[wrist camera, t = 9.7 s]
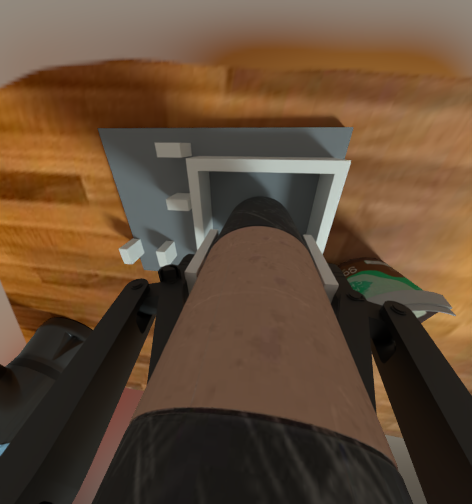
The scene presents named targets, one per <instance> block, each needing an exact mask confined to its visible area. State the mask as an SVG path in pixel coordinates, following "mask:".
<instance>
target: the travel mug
mask: <svg viewBox="0 0 472 504" xmlns="http://www.w3.org/2000/svg"><path fill="white" fill-rule="evenodd" d="M92 504H413V502H412V500H411V497H410V495H409V493H408V491H407V488H406V485H405V483H404V480H403V478H402V476H401V475H400V473H399V472H398V467H397V464H396V461H395V459H394V456H393V454H392V452H391V449H390V447H389V444H388V442H387V439H386V437H385V435H384V432H383V430H382V427H381V425H380V422H379V420H378V418H377V415H376V413H375V410H374V408H373V406H372V403H371V401H370V398H369V396H368V393H367V391H366V389H365V386H364V384H363V381H362V379H361V376H360V374H359V372H358V369H357V367H356V364H355V362H354V360H353V357H352V355H351V352H350V350H349V347H348V345H347V343H346V340H345V338H344V335H343V333H342V331H341V328H340V326H339V323H338V321H337V318H336V316H335V314H334V311H333V309H332V306H331V304H330V301H329V299H328V297H327V294H326V292H325V289H324V287H323V285H322V282H321V280H320V277H319V275H318V272H317V270H316V268H315V265H314V263H313V260H312V258H311V256H310V254H309V252H308V250H307V248H306V246H305V244H304V242H303V240H302V238H301V236H300V234H299V232H298V230H297V228H296V226H295V224H294V222H293V220H292V218H291V216H290V214H289V212H288V211H287V209H286V208H285V207H284V206H283V205H282V204H281V203H280V202H278V201H277V200H275V199H272V198H269V197H264V196H257V197H251V198H248V199H246V200H244V201H242V202H241V203H240V204H238V205H237V206H236V207H235V208H234V210H233V211H232V213H231V214H230V216H229V218H228V219H227V221H226V223H225V225H224V227H223V228H222V230H221V232H220V234H219V236H218V237H217V239H216V241H215V243H214V244H213V246H212V248H211V250H210V252H209V254H208V256H207V258H206V260H205V263H204V265H203V267H202V269H201V271H200V273H199V275H198V277H197V280H196V282H195V284H194V286H193V288H192V290H191V292H190V295H189V297H188V299H187V301H186V303H185V305H184V307H183V310H182V312H181V314H180V316H179V318H178V320H177V322H176V325H175V327H174V329H173V331H172V333H171V335H170V337H169V339H168V342H167V344H166V346H165V348H164V350H163V352H162V354H161V357H160V359H159V361H158V363H157V365H156V367H155V369H154V372H153V374H152V376H151V378H150V380H149V382H148V384H147V387H146V389H145V391H144V393H143V395H142V397H141V399H140V402H139V404H138V406H137V408H136V410H135V412H134V414H133V417H132V419H131V421H130V424H129V426H128V428H127V430H126V431H125V434H124V436H123V438H122V440H121V442H120V444H119V447H118V449H117V451H116V453H115V455H114V458H113V459H112V461H111V463H110V466H109V468H108V470H107V472H106V474H105V476H104V479H103V481H102V483H101V485H100V487H99V489H98V491H97V493H96V496H95V498H94V500H93V502H92Z"/></svg>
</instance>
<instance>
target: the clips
mask: <svg viewBox="0 0 472 504" xmlns="http://www.w3.org/2000/svg"><path fill="white" fill-rule="evenodd" d="M155 148H156V153H157V157H174V158H182V157H188V156H192V152H191V143H155ZM166 203H167V208H168V210H176V211H189V210H190V209H192V205H191V197H190V193H176V194H174V195H172V196H171V197H169V198H167V199H166ZM119 251H120V254H121V256H122V259H123V261H124V264H133V263H134V262H135V261H137V260H138V259H139V258H140V257H141V256H142V255H143V254H144V250H143V246H142V243H141V240H140V239H131V240H130V241H129V242H127V243H126V244H124V245H123V246H122V247H120V248H119ZM156 254H157V258H158V262H159V265H160V267H163V266H165V265H169V264H171V263H172V261H173V260H174V259H175V258H176V256H177V252H176V247H175V242H174V241H166V242H165V243H164V244H163V245H162V246H161V247H160V248H159V249H158V250H157V251H156Z"/></svg>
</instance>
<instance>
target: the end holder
mask: <svg viewBox="0 0 472 504" xmlns="http://www.w3.org/2000/svg"><path fill="white" fill-rule="evenodd" d="M350 164H351V161H350V160H344V159H339V158H322V157H243V156H196V157H191V158H186V165H187V173H188V181H189V189H190V197H191V205H192V213H193V221H194V229H195V236H196V244H197V250H198V249H199V247H200V246H201V244H202V242H203V241H204V239H205V237H206V236H207V234H208V232H209V231H210V229H213V222H212V207H211V192H210V178H209V171H226V172H272V173H319V174H320V177H319V181H318V185H317V190H316V194H315V198H314V202H313V207H312V211H311V215H310V220H309V224H308V228H307V233H306V235H312V236H313V238H314V240H315V242H316V244H317V246H318V247H319V249H320V251H321V253H322V255H323V252H324V249H325V245H326V242H327V239H328V236H329V232H330V229H331V226H332V222H333V219H334V216H335V213H336V209H337V206H338V203H339V200H340V196H341V193H342V190H343V186H344V183H345V180H346V177H347V173H348V170H349V167H350Z"/></svg>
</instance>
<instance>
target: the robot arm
mask: <svg viewBox="0 0 472 504" xmlns="http://www.w3.org/2000/svg"><path fill="white" fill-rule="evenodd" d="M218 236H219V233H218V230H215V229H210V231H209V232H208V234H207V236H206V237H205V239H204V241H203V242H202V244H201V246H200V247H199V249H198V250H197V252H196V254H187V255H186V256H184V257H183V259H182V260H181V262H180V263H179V265H175V264H169V265H165V266H163V267H161V268H160V269H159V271H158V274H159V278H160V281H161V282H159V283H152V284H148V281H147V280H146V279H136V280H133V281H131V282H129V283H128V284H127V285H126V286H125V288H124V289H123V290H122V292H121V293H120V294H119V296H118V297H117V299H116V300H115V301H114V303H113V304H112V305H111V307H110V308H109V309H108V311H107V312H106V313H105V315H104V316H103V317H102V319H101V320H100V322H99V323H98V324H97V326H96V327H95V328H94V330H93V331H92V330H91V329H89V328H88V327H86V326H84V325H82V324H80V323H78V322H75V321H73V320H69V319H65V318H50V319H48V320H47V321H46V322H45V323H43V324H42V325H41V326H40V327H39V328H38V329H37V331H36V333H35V334H34V336H33V337H32V338H31V339H30V341H29V342H28V343H27V345H26V346H25V347H24V349H23V350H22V351H21V353H20V354H19V355H18V356H17V357H16V358H15V359H14V360H13V361H11V363H9V364H8V365H7V366H6V367H4V366H2V365H1V364H0V504H72V502H73V501H74V499H75V497H76V495H77V493H78V491H79V489H80V487H81V485H82V483H83V481H84V479H85V477H86V475H87V473H88V470H89V468H90V466H91V464H92V461H93V459H94V457H95V455H96V452H97V450H98V448H99V445H100V443H101V441H102V438H103V436H104V434H105V432H106V429H107V427H108V424H109V422H110V420H111V418H112V415H113V413H114V411H115V408H116V406H117V404H118V402H119V399H120V397H121V394H122V392H123V390H124V388H125V386H126V383H127V381H128V379H129V376H130V374H131V372H132V369H133V367H134V365H135V363H136V360H137V358H138V356H139V353H140V351H141V349H142V346H143V344H144V342H145V340H146V337H147V335H148V333H149V330H150V328H151V326H152V323H153V321H154V319H155V317H156V321H155V328H154V336H153V343H152V351H151V358H150V366H149V373H148V381H147V384H148V382H149V380H150V378H151V376H152V374H153V372H154V369H155V367H156V365H157V363H158V361H159V359H160V357H161V354H162V352H163V350H164V348H165V346H166V344H167V342H168V339H169V337H170V335H171V333H172V331H173V329H174V327H175V325H176V322H177V320H178V318H179V316H180V314H181V312H182V310H183V307H184V305H185V303H186V301H187V299H188V297H189V295H190V292H191V290H192V288H193V286H194V284H195V282H196V280H197V277H198V275H199V273H200V271H201V269H202V267H203V265H204V263H205V260H206V258H207V256H208V254H209V252H210V250H211V248H212V246H213V244H214V243H215V241H216V239H217V237H218ZM302 240H303V242H304V244H305V246H306V248H307V250H308V252H309V254H310V256H311V258H312V260H313V263H314V265H315V268H316V270H317V272H318V275H319V277H320V280H321V282H322V285H323V287H324V289H325V292H326V294H327V297H328V299H329V301H330V304H331V306H332V309H333V311H334V314H335V316H336V318H337V321H338V323H339V326H340V328H341V331H342V333H343V335H344V338H345V340H346V343H347V345H348V347H349V350H350V352H351V355H352V357H353V360H354V362H355V364H356V367H357V369H358V372H359V374H360V376H361V379H362V381H363V384H364V386H365V389H366V391H367V393H368V396H369V398H370V401H371V403H372V406H373V408H374V410H375V413H376V402H375V390H374V378H373V366H372V354H373V357H374V360H375V363H376V365H377V368H378V371H379V373H380V376H381V379H382V382H383V384H384V387H385V390H386V392H387V395H388V398H389V401H390V403H391V406H392V409H393V411H394V414H395V417H396V420H397V422H398V425H399V428H400V430H401V433H402V436H403V439H404V441H405V444H406V447H407V449H408V452H409V455H410V458H411V460H412V463H413V465H414V468H415V471H416V474H417V477H418V479H419V482H420V484H421V487H422V490H423V493H424V496H425V498H426V501H427V504H472V396H471V394H470V393H469V391H468V390H467V388H466V387H465V386H464V384H463V383H462V381H461V380H460V378H459V377H458V376H457V374H456V373H455V371H454V370H453V368H452V367H451V366H450V364H449V363H448V361H447V360H446V359H445V357H444V356H443V354H442V353H441V351H440V350H439V349H438V347H437V346H436V344H435V343H434V341H433V340H432V339H431V337H430V336H429V334H428V333H427V331H426V330H425V329H424V327H423V326H422V324H421V323H420V321H419V320H418V319H417V317H416V316H415V314H414V313H413V312H412V311H411V310H410V309H409V308H408V307H406V306H405V305H403V304H401V303H399V302H396V301H389V300H388V301H385V302H384V304H383V305H379V304H376V303H372V302H369V301H367V300H366V297H365V296H364V295H363V294H361V293H360V292H358V291H355V290H353V288H352V287H351V285H350V283H349V282H348V280H347V279H346V278H345V275H344V274H343V272H342V271H341V269H340V268H339V267H338V266H337V265H335V264H330V263H327V262H326V260H325V258H324V257H323V255H322V253H321V251H320V249H319V247H318V246H317V244H316V242H315V240H314V238H313V236H312V235H303V236H302ZM371 352H372V354H371ZM376 415H377V414H376Z"/></svg>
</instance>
